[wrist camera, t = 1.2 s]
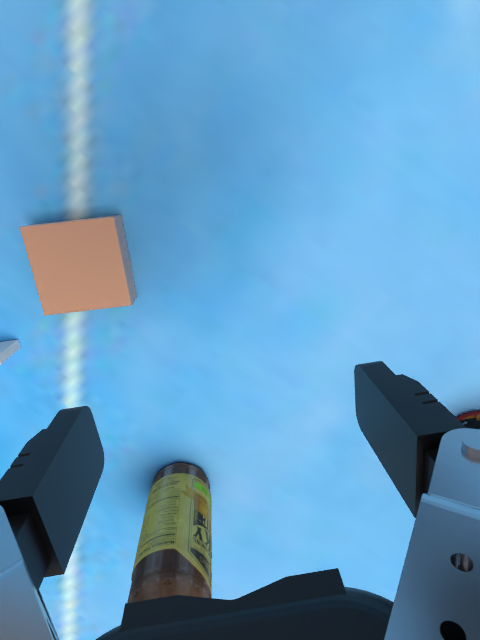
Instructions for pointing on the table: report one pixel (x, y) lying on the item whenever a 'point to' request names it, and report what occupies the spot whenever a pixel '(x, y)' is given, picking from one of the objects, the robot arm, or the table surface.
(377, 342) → the table surface
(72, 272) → the terracotta tile
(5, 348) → the box
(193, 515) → the sauce bottle
